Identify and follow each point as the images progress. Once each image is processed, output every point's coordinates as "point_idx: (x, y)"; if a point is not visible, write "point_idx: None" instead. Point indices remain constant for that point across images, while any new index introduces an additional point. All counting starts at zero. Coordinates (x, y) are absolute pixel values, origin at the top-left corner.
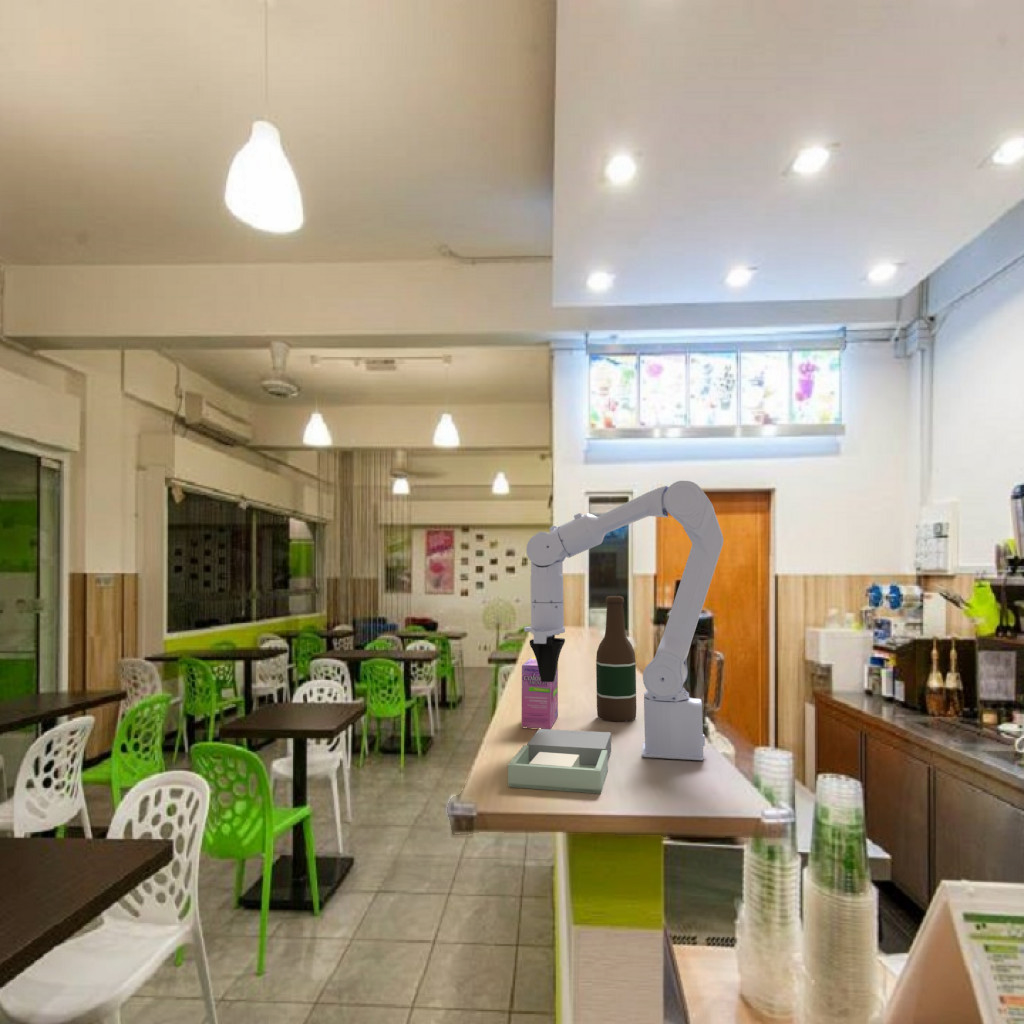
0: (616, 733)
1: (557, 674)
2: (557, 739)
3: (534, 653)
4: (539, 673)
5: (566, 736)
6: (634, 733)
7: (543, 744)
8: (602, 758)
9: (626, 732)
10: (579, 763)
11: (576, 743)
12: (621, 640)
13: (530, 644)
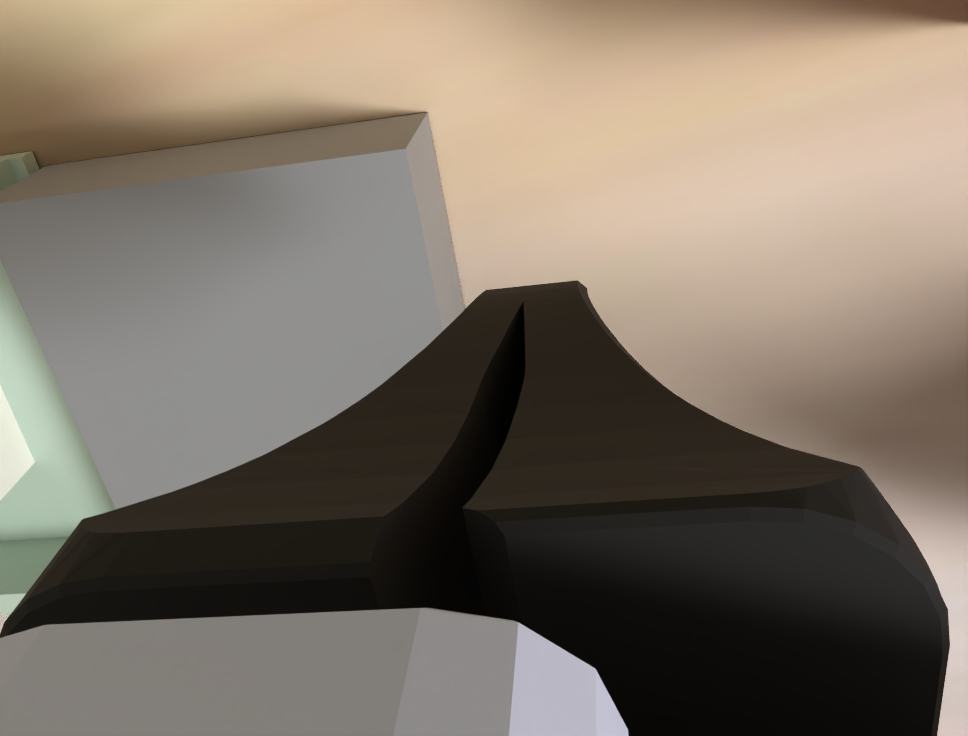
0: (919, 480)
1: None
2: (192, 350)
3: (245, 467)
4: (456, 318)
5: (287, 382)
6: (935, 563)
7: (39, 304)
8: (4, 606)
9: (955, 525)
10: (9, 488)
11: (171, 464)
12: None
13: (59, 549)
